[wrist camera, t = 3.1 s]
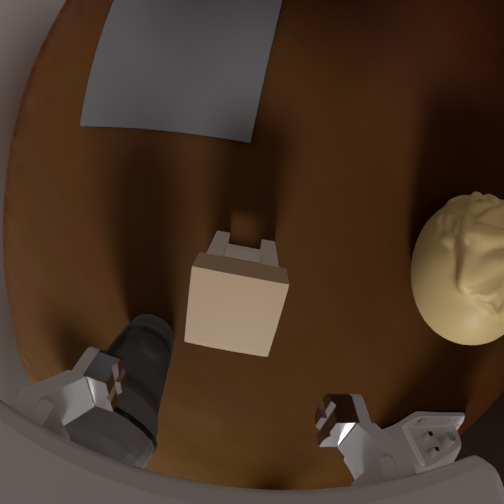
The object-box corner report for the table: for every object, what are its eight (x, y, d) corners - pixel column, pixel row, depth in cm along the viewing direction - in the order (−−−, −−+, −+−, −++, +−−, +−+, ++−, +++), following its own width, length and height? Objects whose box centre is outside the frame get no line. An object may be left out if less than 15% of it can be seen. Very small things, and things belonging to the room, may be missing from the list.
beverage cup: (131, 360, 26) (59, 522, 8) (108, 301, 24) (-12, 473, 5) (196, 362, 26) (150, 557, 7) (178, 299, 23) (83, 531, 5)
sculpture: (491, 185, 19) (573, 215, 9) (473, 296, 23) (531, 353, 13) (399, 180, 19) (493, 214, 9) (387, 312, 24) (439, 395, 14)
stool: (279, 238, 21) (289, 284, 14) (265, 295, 23) (267, 356, 16) (214, 225, 21) (192, 266, 14) (205, 284, 23) (184, 341, 16)
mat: (285, -14, 14) (286, -16, 14) (250, 143, 19) (250, 143, 18) (123, -16, 13) (121, -17, 13) (82, 126, 18) (79, 126, 18)
